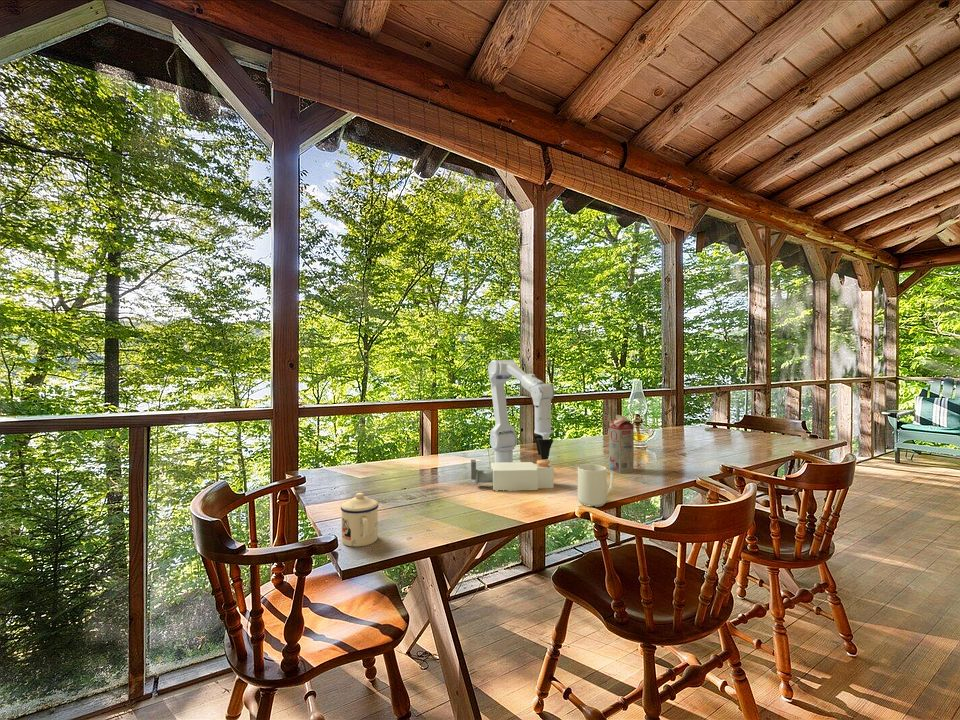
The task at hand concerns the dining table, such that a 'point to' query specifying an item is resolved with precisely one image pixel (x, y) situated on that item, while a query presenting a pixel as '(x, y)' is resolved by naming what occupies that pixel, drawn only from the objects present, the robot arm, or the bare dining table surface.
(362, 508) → the teacup with lid
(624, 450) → the juice carton
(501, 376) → the robot arm
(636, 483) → the dining table surface
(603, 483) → the mug
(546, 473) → the button housing
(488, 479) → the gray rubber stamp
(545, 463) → the plunger button
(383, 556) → the dining table surface
